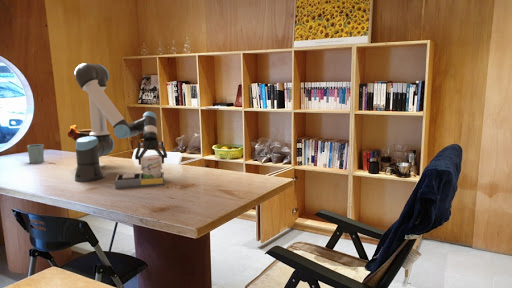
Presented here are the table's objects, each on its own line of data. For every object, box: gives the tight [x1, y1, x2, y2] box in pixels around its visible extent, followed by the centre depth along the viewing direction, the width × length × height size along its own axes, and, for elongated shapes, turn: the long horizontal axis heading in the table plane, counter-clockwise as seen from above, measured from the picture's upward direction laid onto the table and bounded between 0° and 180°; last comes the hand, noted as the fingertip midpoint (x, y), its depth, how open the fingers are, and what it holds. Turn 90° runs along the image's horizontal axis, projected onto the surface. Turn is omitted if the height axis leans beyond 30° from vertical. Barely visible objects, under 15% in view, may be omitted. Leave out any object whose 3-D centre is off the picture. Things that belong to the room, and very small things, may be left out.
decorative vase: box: [67, 124, 105, 170], centre depth 254 cm, size 21×23×28 cm
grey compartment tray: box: [114, 171, 165, 190], centre depth 210 cm, size 24×14×5 cm, turn 104°
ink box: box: [142, 154, 162, 178], centre depth 211 cm, size 8×5×12 cm, turn 135°
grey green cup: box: [26, 143, 45, 165], centre depth 271 cm, size 10×10×12 cm
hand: (151, 168), depth 209 cm, fingers closed on ink box, 9 cm apart
